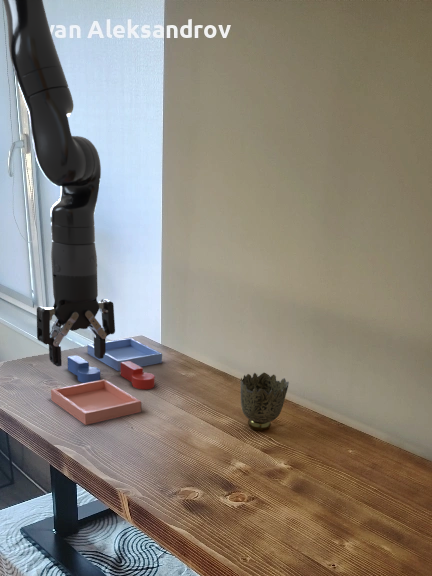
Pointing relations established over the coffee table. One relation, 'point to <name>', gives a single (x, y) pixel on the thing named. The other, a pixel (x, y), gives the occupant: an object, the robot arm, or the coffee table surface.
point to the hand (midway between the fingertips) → (78, 361)
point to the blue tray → (127, 353)
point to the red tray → (95, 401)
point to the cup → (262, 399)
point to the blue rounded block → (83, 369)
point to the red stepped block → (137, 375)
